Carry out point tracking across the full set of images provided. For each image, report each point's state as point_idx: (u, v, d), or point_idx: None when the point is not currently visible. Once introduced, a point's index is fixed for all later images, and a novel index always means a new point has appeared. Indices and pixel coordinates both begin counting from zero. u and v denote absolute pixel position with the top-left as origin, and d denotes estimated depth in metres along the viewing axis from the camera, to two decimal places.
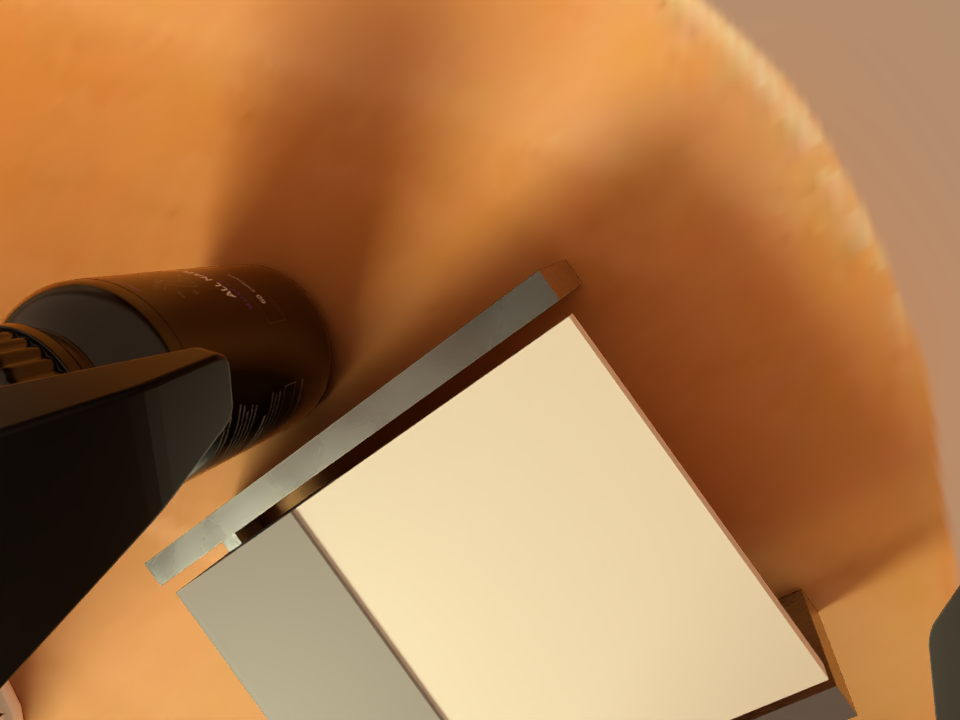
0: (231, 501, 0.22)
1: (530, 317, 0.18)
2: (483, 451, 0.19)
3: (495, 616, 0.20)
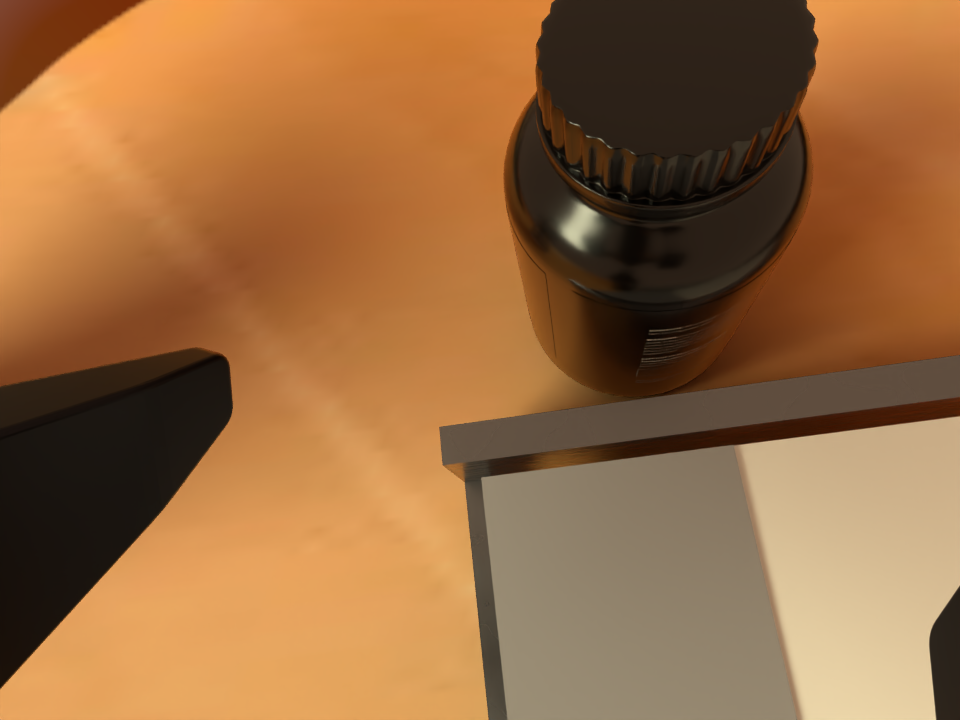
0: (629, 403, 0.17)
1: None
2: None
3: None
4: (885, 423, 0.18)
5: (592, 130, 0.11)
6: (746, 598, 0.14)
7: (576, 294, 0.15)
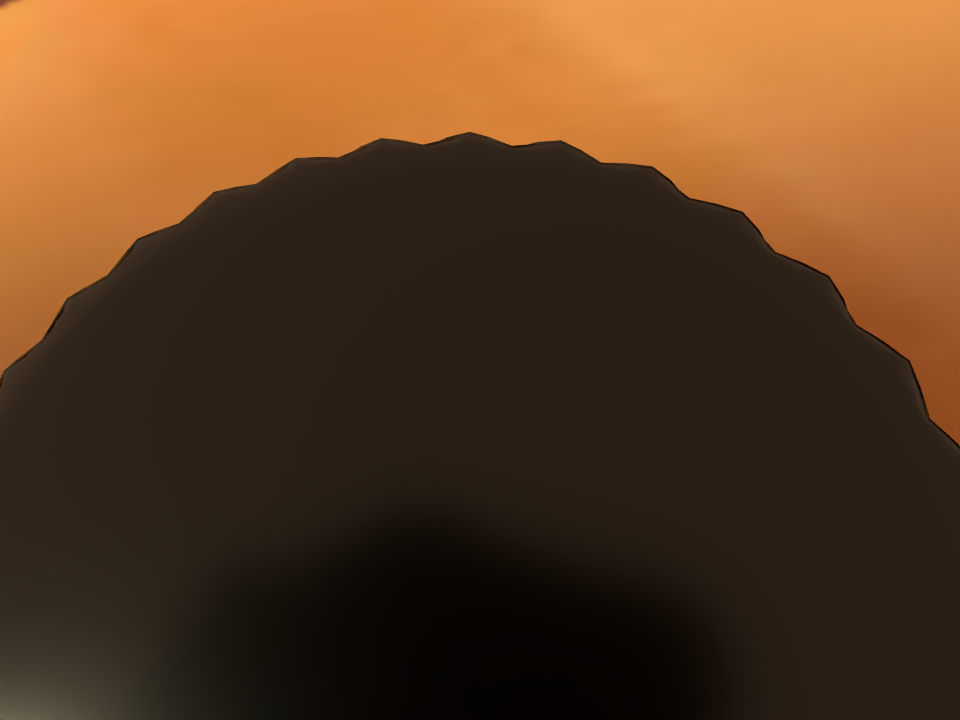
0: None
1: None
2: None
3: None
4: None
5: None
6: None
7: None
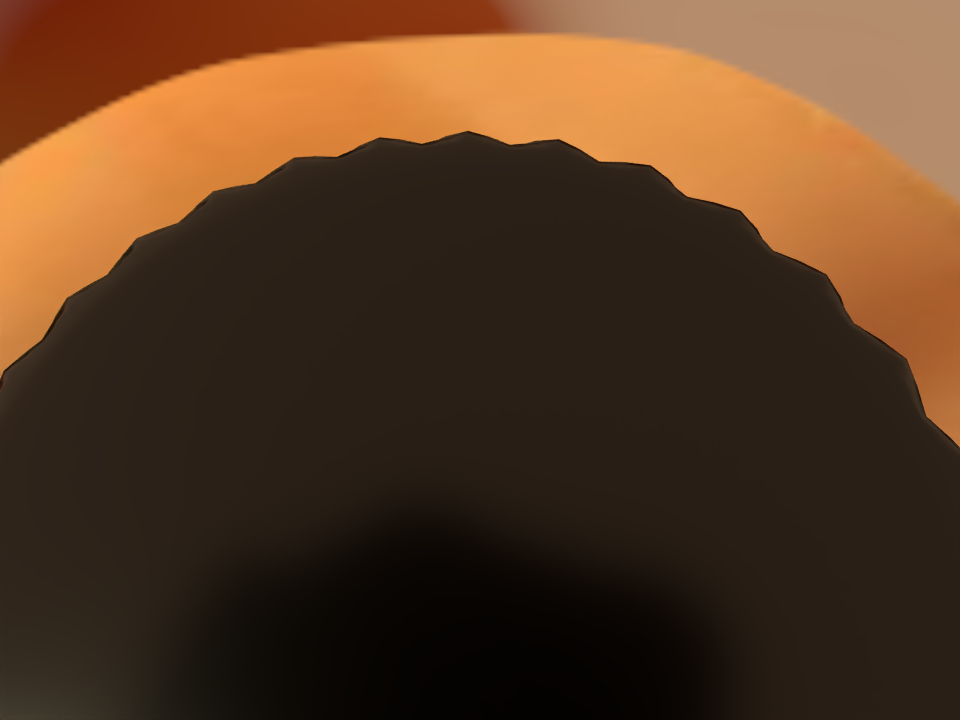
0: None
1: None
2: None
3: None
4: None
5: None
6: None
7: None
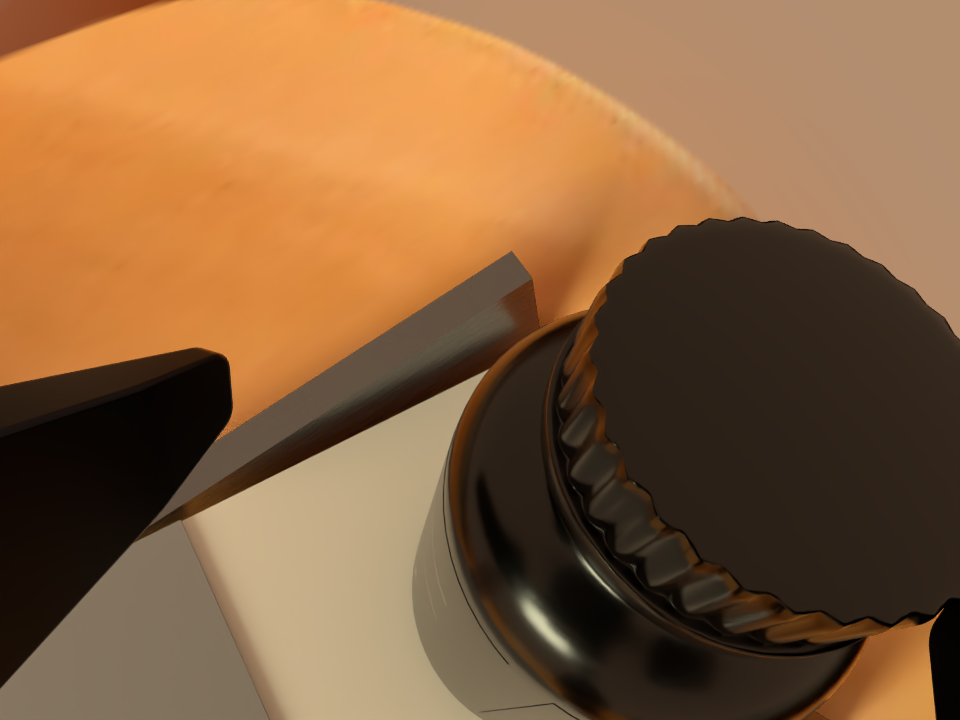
0: None
1: (500, 295, 0.17)
2: (444, 457, 0.18)
3: None
4: (369, 424, 0.20)
5: (708, 547, 0.06)
6: (215, 655, 0.15)
7: (558, 708, 0.09)
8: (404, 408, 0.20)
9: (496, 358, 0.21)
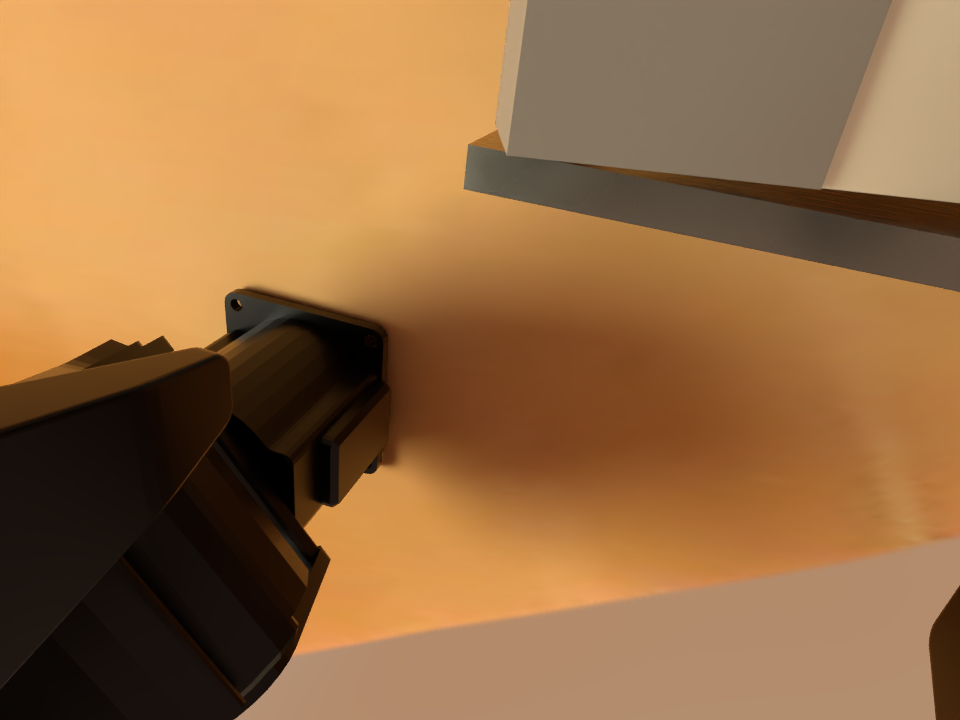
0: None
1: None
2: None
3: None
4: None
5: None
6: None
7: None
8: None
9: None
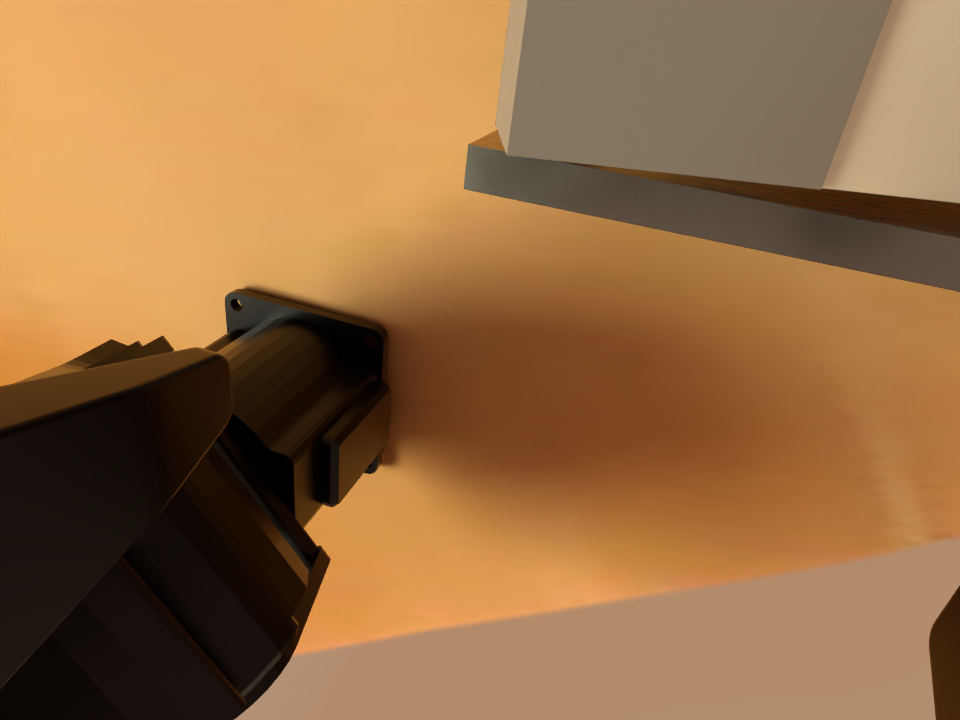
0: None
1: None
2: None
3: None
4: None
5: None
6: None
7: None
8: None
9: None
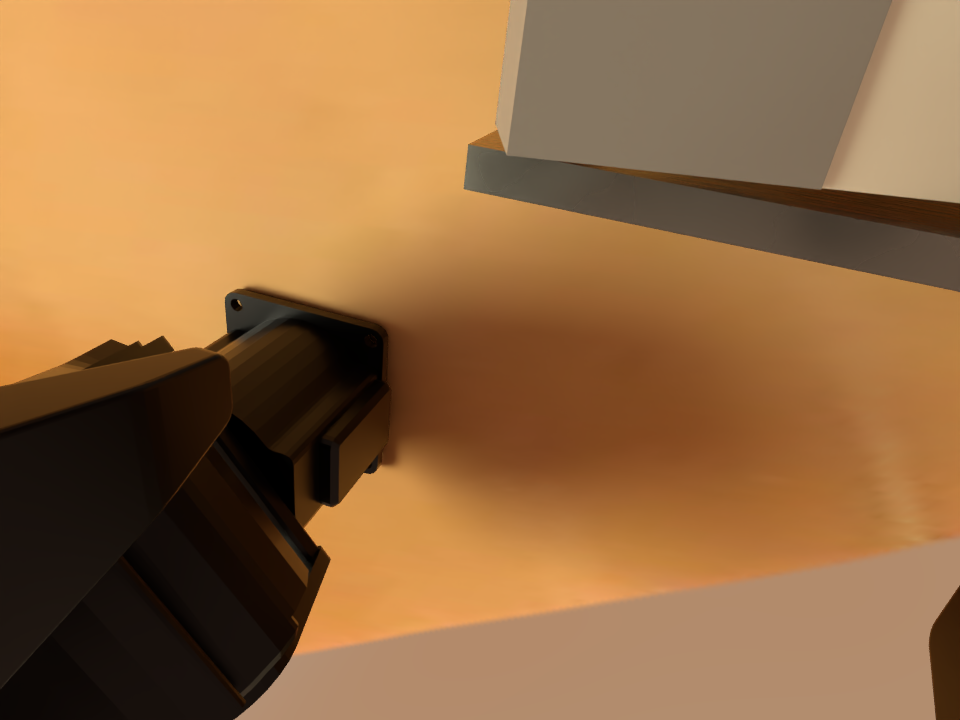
0: None
1: None
2: None
3: None
4: None
5: None
6: None
7: None
8: None
9: None
